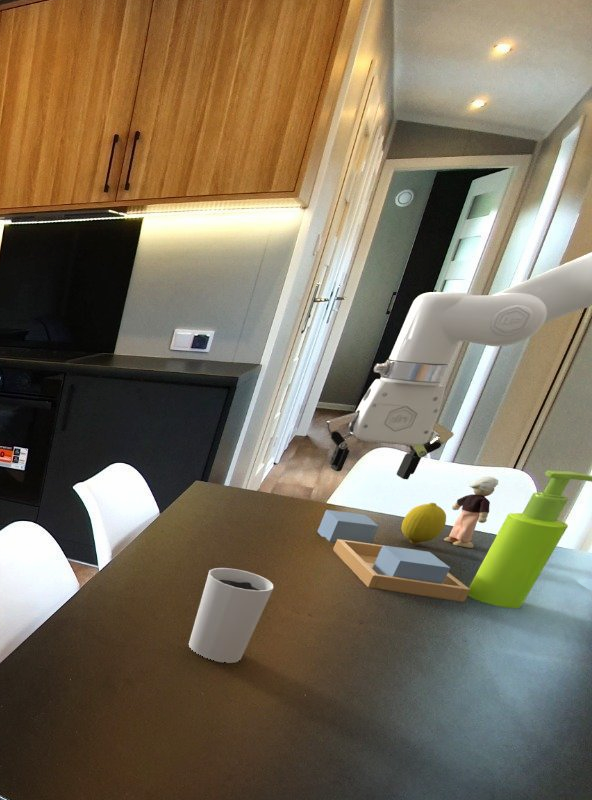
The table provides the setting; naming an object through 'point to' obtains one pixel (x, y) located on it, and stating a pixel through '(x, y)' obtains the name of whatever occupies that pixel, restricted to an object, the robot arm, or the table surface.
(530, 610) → the table surface
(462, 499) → the grandmother figurine
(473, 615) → the table surface
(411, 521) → the lemon
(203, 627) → the white cup
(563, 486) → the soap dispenser
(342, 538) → the blue-gray block
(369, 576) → the wooden tray
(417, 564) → the blue-grey block
